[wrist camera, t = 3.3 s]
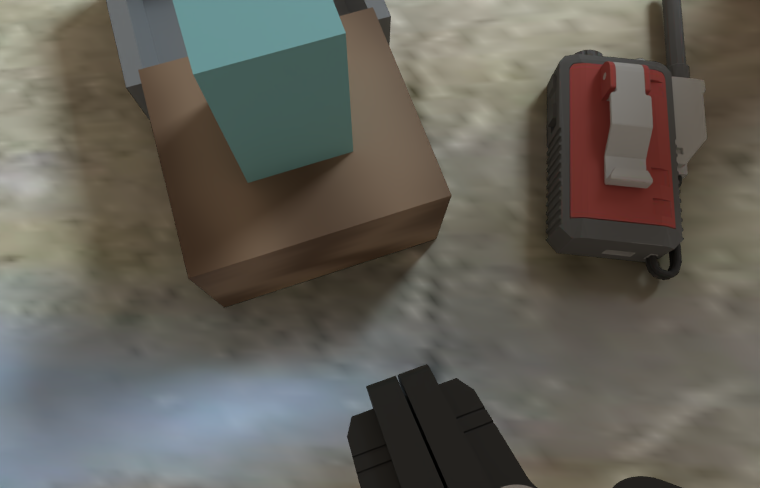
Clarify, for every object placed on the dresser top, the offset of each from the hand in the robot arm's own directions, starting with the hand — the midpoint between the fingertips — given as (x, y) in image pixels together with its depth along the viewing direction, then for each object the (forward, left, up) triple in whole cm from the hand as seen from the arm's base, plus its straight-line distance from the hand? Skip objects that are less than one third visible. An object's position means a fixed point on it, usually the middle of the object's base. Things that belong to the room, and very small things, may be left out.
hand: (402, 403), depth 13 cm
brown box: (0, -13, -15) cm, 20 cm away
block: (0, -14, -9) cm, 17 cm away
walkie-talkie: (-19, -12, -16) cm, 27 cm away
